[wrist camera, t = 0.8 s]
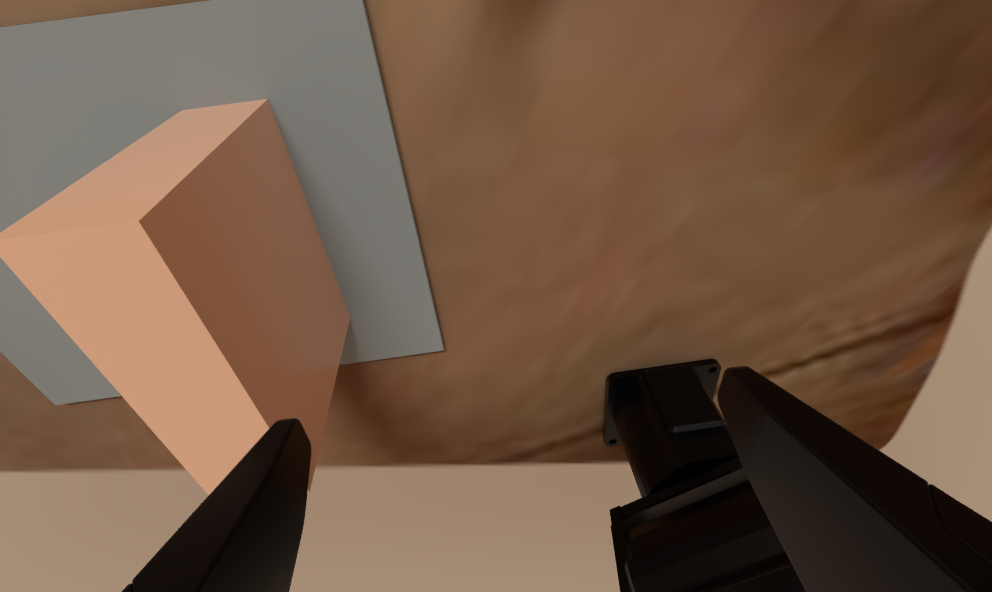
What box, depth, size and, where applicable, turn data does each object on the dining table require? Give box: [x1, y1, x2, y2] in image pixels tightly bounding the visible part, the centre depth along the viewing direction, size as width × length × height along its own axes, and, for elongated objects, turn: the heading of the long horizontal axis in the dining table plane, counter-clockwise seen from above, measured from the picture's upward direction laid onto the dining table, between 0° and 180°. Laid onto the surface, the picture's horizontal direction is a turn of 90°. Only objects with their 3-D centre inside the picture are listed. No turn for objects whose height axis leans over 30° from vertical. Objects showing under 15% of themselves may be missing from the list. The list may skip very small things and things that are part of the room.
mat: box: [0, 0, 444, 405], centre depth 20 cm, size 16×20×1 cm
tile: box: [0, 99, 350, 495], centre depth 16 cm, size 10×3×9 cm, turn 6°
